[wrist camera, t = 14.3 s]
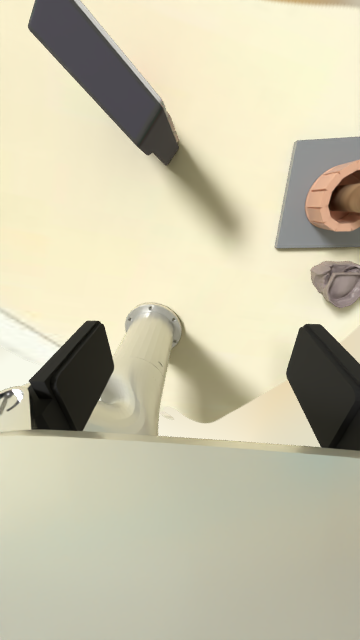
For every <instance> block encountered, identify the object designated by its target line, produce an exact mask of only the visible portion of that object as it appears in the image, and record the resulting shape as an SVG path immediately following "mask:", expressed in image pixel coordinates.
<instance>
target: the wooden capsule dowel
mask: <svg viewBox="0 0 360 640" xmlns="http://www.w3.org/2000/svg"><path fill="white" fill-rule="evenodd" d="M328 208H329V210H330V211H343V212H358V213H360V183H356V184H348V185H340V186H336V187H335V189H334V190H333V191H332V194H331V197H330V201H329V204H328Z"/></svg>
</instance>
